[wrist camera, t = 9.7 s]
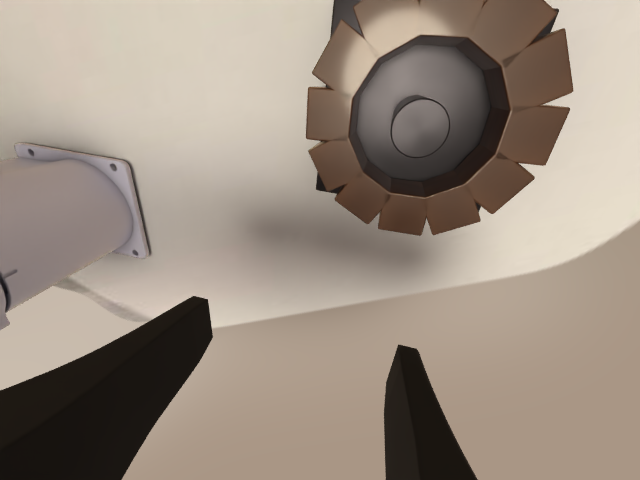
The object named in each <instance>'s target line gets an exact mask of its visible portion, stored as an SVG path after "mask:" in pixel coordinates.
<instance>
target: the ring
mask: <svg viewBox="0 0 640 480" xmlns="http://www.w3.org/2000/svg"><path fill="white" fill-rule="evenodd" d="M353 10H354V13H355V16H356V19H357V21H358V24H359V27H360V30H361V33H362V35H361V34H360V33H358V32H357V31H356V30H355V29H354V28H352V27H351V26H350V25H349V24H347V23H346V22H345V21H344V20H342V19H341V20H340V22H339V24H338V26H337V28H336V30H335V31H334V33H333V35H332V37H331V39H330V41H329V42H328V44H327V46H326V48H325V50H324V51H323V53H322V55H321V57H320V59H319V61H318V62H317V64H316V66H315V68H314V70H313V71H312V74H313V75H314V76H316V77H317V78H318V79H320V80H321V81H322V82H323V83H325V84H326V85H327V86H329V87H309V88H308V101H307V125H306V139H310V140H319V141H321V142H320V143H318V144H317V145H316V146H314V147H313V148H311V149H310V150H309V151H308V152H309V154H310V156H311V158H312V160H313V162H314V165H315V167H316V169H317V171H318V173H319V175H320V177H321V180H322V182H323V184H324V186H325V188H326V190H327V191H330V190H333V189H335V188H338V187H340V186H341V188H340V190H339V192H338V194H337V195H336V197H335V201H337V202H338V203H339V204H341V205H342V206H343V207H345V208H346V209H347V210H349V211H350V212H351V213H353V214H354V215H355V216H357V217H358V218H359V219H361V220H362V221H364V222H365V223H366V224H369V223H370V222H371V221H372V220H373V219H374V218H375V216H376V215H377V214H378V213H379V212H380V215H379V223H378V229H382V230H388V231H394V232H400V233H407V234H413V235H419V236H421V235H422V232H423V228H424V224H425V220H426V217H427V220H428V223H429V226H430V229H431V232H432V234H433V235H436V234H439V233H443V232H446V231H449V230H453V229H456V228H460V227H463V226H467V225H470V224H473V223H477V222H480V216H479V213H478V209H477V206H476V203H478V204H479V205H480V206H482V207H483V208H484V209H485V210H487V211H488V212H489V213H491V214H494V213H495V212H496V211H497V210H498V209H500V208H501V207H502V206H503V205H504V204H505V203H507V202H508V201H509V200H510V199H511V198H513V197H514V196H515V195H516V194H517V193H518V192H520V191H521V190H522V189H523V188H524V187H525V186H527V185H528V184H529V183H530V182H531V181H532V180H534V178H535V177H534V176H533V175H532V174H531V173H530V172H528V171H527V170H526V169H525V168H524V167H522V166H521V165H520V164H519V163H524V164H533V165H542V166H543V165H546V163H547V161H548V158H549V156H550V154H551V152H552V149H553V147H554V145H555V143H556V140H557V138H558V136H559V133H560V131H561V129H562V127H563V124H564V122H565V120H566V118H567V115H568V113H569V111H570V108H569V107H560V106H552V105H543V104H545V103H548V102H550V101H552V100H555V99H557V98H560V97H562V96H565V95H567V94H570V93H572V92H573V84H572V77H571V69H570V62H569V54H568V47H567V39H566V32H565V29H564V28H563V29H560V30H557V31H554V32H551V33H548V34H545V35H543V36H540V37H537V36H538V35H539V34H540V32H541V31H542V30H543V29H544V28H545V27H546V26H547V25H548V24H549V22H550V21H551V20H552V19H553V18H554V17H555V16H556V14H557V12H556V11H555V10H554V9H553V8H552V7H551V6H550V5H548V4H547V3H546V2H545V1H544V0H362V1H360V2H359V3H357V4H356V5H354V6H353ZM536 37H537V38H536ZM416 44H417V45H436V46H455V47H456V48H457V49H458V50H460V51H461V52H462V53H463V54H464V55H466V56H467V57H468V58H469V59H470V60H472V61H473V62H474V63H475V64H476V65H477V66H479V67H480V68H481V69H482V70H483V72H484V76H485V81H486V85H487V89H488V94H489V98H490V102H491V110H490V114H489V117H488V120H487V123H486V126H485V129H484V132H483V135H482V138H481V141H480V144H479V145H478V146H477V147H476V148H475V149H474V150H473V151H472V152H471V153H470V154H469V155H468V156H467V157H466V159H465V160H464V161H463V162H462V163H461V164H460V165H459V166H458V167H457V168H456V169H455V170H453V171H450V172H447V173H445V174H442V175H439V176H437V177H434V178H431V179H428V180H426V181H423V182H417V181H409V180H402V179H394V178H390V177H389V176H388V175H386V174H385V173H384V172H382V171H381V170H380V169H378V168H377V167H376V166H375V165H373V164H372V163H371V162H369V161H368V160H367V158H366V155H365V153H364V150H363V148H362V145H361V143H360V140H359V138H358V135H357V133H356V124H357V116H358V107H359V99H360V95H361V94H362V92H363V91H364V89H365V88H366V86H367V85H368V83H369V82H370V80H371V79H372V77H373V76H374V74H375V73H376V71H377V70H378V68H379V67H380V65H381V64H382V63H384V62H386V61H387V60H389V59H391V58H393V57H395V56H396V55H398V54H400V53H402V52H404V51H405V50H407V49H409V48H411V47H413V46H414V45H416Z"/></svg>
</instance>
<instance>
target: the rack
mask: <svg viewBox="0 0 640 480" xmlns="http://www.w3.org/2000/svg"><path fill="white" fill-rule="evenodd" d="M360 1H362V0H334V5H333V15H332V26H331V36H330V39H331V37H332V35H333V33H334V31H335V30H336V28H337V26H338V24H339V22H340V20H341V19H342V20H344V21H345V22H346V23H347V24H349V25H350V26H351V27H352V28H354V29H355V30H356V31H357V32H358V33H360V34H361V35H362V33H361V30H360V27H359V24H358V21H357V19H356V16H355V13H354V10H353V6H354V5H356V4H357V3H359V2H360ZM553 9H554V10H555V11H556V12H557V14H556V16H555V17H554V18H553V19H552V20H551V21H550V22H549V24H548V25H547V26H546V27H545V28H544V29H543V30H542V31H541V32H540V34H539V35H538V36H537V37H540V36H543V35H545V34H548V33H550V32H551V30H552V27H553V25H554V22H555V20H556V17H557V15H558V12H559V9H555V8H553ZM537 37H536V38H537ZM326 87H329V86H327V85H326ZM490 110H491V102H490V98H489V94H488V89H487V85H486V81H485V76H484V72H483V70H482V69H481V68H480V67H479V66H477V65H476V64H475V63H474V62H473V61H472V60H470V59H469V58H468V57H467V56H466V55H464V54H463V53H462V52H461V51H460V50H458V49H457V48H456V47H455V46H436V45H417V44H416V45H414V46H413V47H411V48H409V49H407V50H405V51H404V52H402V53H400V54H398V55H396V56H395V57H393V58H391V59H389V60H387V61H386V62H384V63H382V64H381V65H380V67H379V68H378V70H377V71H376V73H375V74H374V76H373V77H372V79H371V80H370V82H369V83H368V85H367V86H366V88H365V89H364V91H363V92H362V94H361V95H360V99H359V107H358V116H357V124H356V133H357V135H358V138H359V140H360V143H361V145H362V148H363V150H364V153H365V155H366V158H367V160H368V161H369V162H371V163H372V164H373V165H375V166H376V167H377V168H378V169H380V170H381V171H382V172H384V173H385V174H386V175H388V176H389V177H390V178H394V179H402V180H409V181H417V182H423V181H426V180H428V179H431V178H434V177H437V176H439V175H442V174H445V173H447V172H450V171H453V170H455V169H456V168H457V167H458V166H459V165H460V164H461V163H462V162H463V161H464V160H465V159H466V157H467V156H468V155H469V154H470V153H471V152H472V151H473V150H474V149H475V148H476V147H477V146H478V145H479V144H480V141H481V138H482V135H483V132H484V129H485V126H486V123H487V120H488V117H489V114H490ZM340 188H341V186H340V187H338V188H335V189H333V190H330V191H327V190H326V188H325V186H324V184H323V182H322V180H321V177H320V175H319V173H317V184H316V190H319V191H325V192H330V193H336V194H338V192H339V190H340ZM476 206H477V209H478V212H479V210H480V207H481V206H480V205H479V204H478V203H476Z"/></svg>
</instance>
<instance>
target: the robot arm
mask: <svg viewBox="0 0 640 480" xmlns="http://www.w3.org/2000/svg"><path fill="white" fill-rule="evenodd" d="M15 151H16V153H17V155H18V158H12V159H7V160H2V161H0V330H1V329H3V328H5V327H6V326H8V325H9V324H10V322H9V321H8V319H7V317H6V314H5V313H6V312H8V311H10V310H11V309H13V308H15V307H17V306H18V305H20V304H22V303H24V302H25V301H27V300H29V299H30V298H32V297H34V296H36V295H37V294H39V293H41V292H43V291H44V290H46V289H48V288H50V287H51V286H53V285H55V284H56V283H58V282H60V281H62V280H63V279H65V278H67V277H69V276H70V275H72V274H74V273H76V272H77V271H79V270H81V269H82V268H84V267H86V266H88V265H89V264H91V263H93V262H95V261H96V260H98V259H100V258H101V257H103V256H105V255H107V254H108V253H110V252H115V253H119V254H123V255H128V256H132V257H136V258H141V259H145V258H147V257H148V256H149V250H148V246H147V241H146V237H145V232H144V228H143V223H142V219H141V215H140V210H139V206H138V201H137V197H136V192H135V188H134V184H133V179H132V175H131V170H130V167H129V165H128V164H127V163H126V162H125V161H123V160H119V159H113V158H107V157H102V156H96V155H90V154H85V153H79V152H73V151H68V150H62V149H56V148H50V147H45V146H39V145H33V144H28V143H16V144H15ZM115 165H116V166H115ZM116 167H117V168H116ZM212 338H213V335H212V328H211V320H210V312H209V304H208V299H204V298H200V297H196V296H193V297H191V298H189V299H187V300H185V301H184V302H182V303H180V304H178V305H177V306H175V307H173V308H172V309H170V310H168V311H166V312H165V313H163V314H161V315H160V316H158V317H156V318H154V319H153V320H151V321H149V322H147V323H146V324H144V325H142V326H140V327H139V328H137V329H135V330H133V331H131V332H130V333H128V334H126V335H124V336H122V337H120V338H118V339H116V340H114V341H113V342H111V343H109V344H107V345H105V346H103V347H101V348H100V349H97V350H95V351H93V352H91V353H89V354H87V355H85V356H83V357H81V358H79V359H76V360H74V361H72V362H70V363H68V364H65V365H63V366H61V367H58V368H56V369H54V370H51V371H49V372H46V373H44V374H42V375H39V376H36V377H34V378H32V379H29V380H26V381H24V382H21V383H19V384H16V385H14V386H11V387H9V388H6V389H4V390H1V391H0V480H121V479H122V478H123V476H124V474H125V473H126V470H127V469H128V467H129V466H130V464H131V462H132V460H133V459H134V457H135V455H136V454H137V452H138V450H139V449H140V447H141V446H142V444H143V442H144V441H145V439H146V437H147V435H148V434H149V432H150V431H151V429H152V428H153V426H154V425H155V423H156V422H157V420H158V418H159V417H160V416H161V415H162V413H163V412H164V410H165V409H166V408H167V406H168V405H169V403H170V402H171V401H172V399H173V398H174V397H175V395H176V394H177V392H178V391H179V389H180V388H181V387H182V385H183V384H184V383H185V381H186V380H187V379H188V377H189V376H190V374H191V373H192V371H193V370H194V369H195V367H196V366H197V364H198V363H199V361H200V360H201V358H202V356H203V354H204V353H205V351H206V349H207V347H208V345H209V343H210V341H211V340H212ZM384 429H385V430H384V431H385V465H386V480H477V478H476V476H475V474H474V472H473V471H472V469H471V467H470V465H469V464H468V461H467V460H466V458H465V456H464V454H463V452H462V450H461V448H460V446H459V444H458V442H457V440H456V438H455V436H454V434H453V432H452V430H451V428H450V426H449V424H448V422H447V420H446V418H445V415H444V413H443V411H442V409H441V407H440V405H439V402H438V400H437V398H436V395H435V393H434V391H433V388H432V386H431V384H430V381H429V379H428V376H427V373H426V371H425V368H424V365H423V363H422V360H421V357H420V354H419V352H418V350H417V349H415V348H411V347H407V346H403V345H398V348H397V351H396V354H395V357H394V360H393V363H392V366H391V369H390V372H389V375H388V379H387V382H386V394H385V407H384Z"/></svg>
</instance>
